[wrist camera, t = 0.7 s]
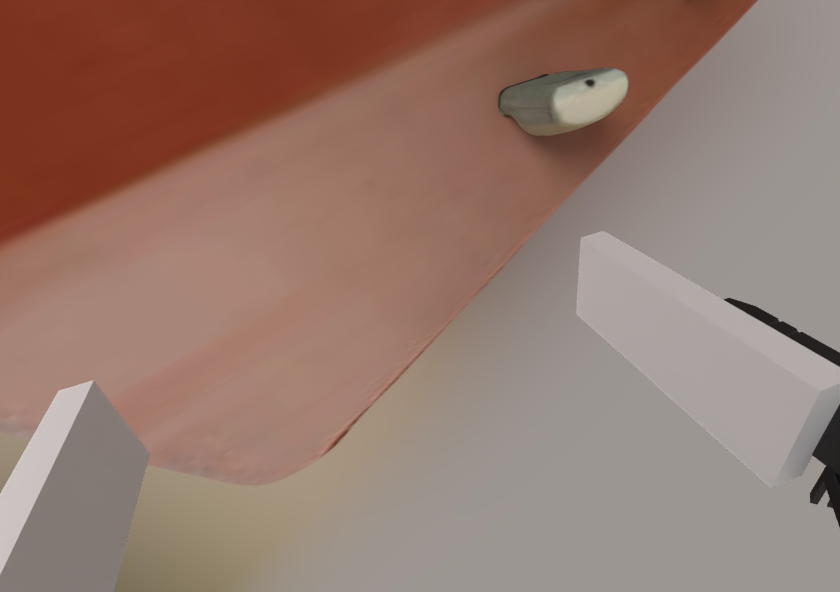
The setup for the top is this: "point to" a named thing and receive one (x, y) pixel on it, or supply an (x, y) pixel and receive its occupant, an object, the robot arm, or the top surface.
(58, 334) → the top surface
